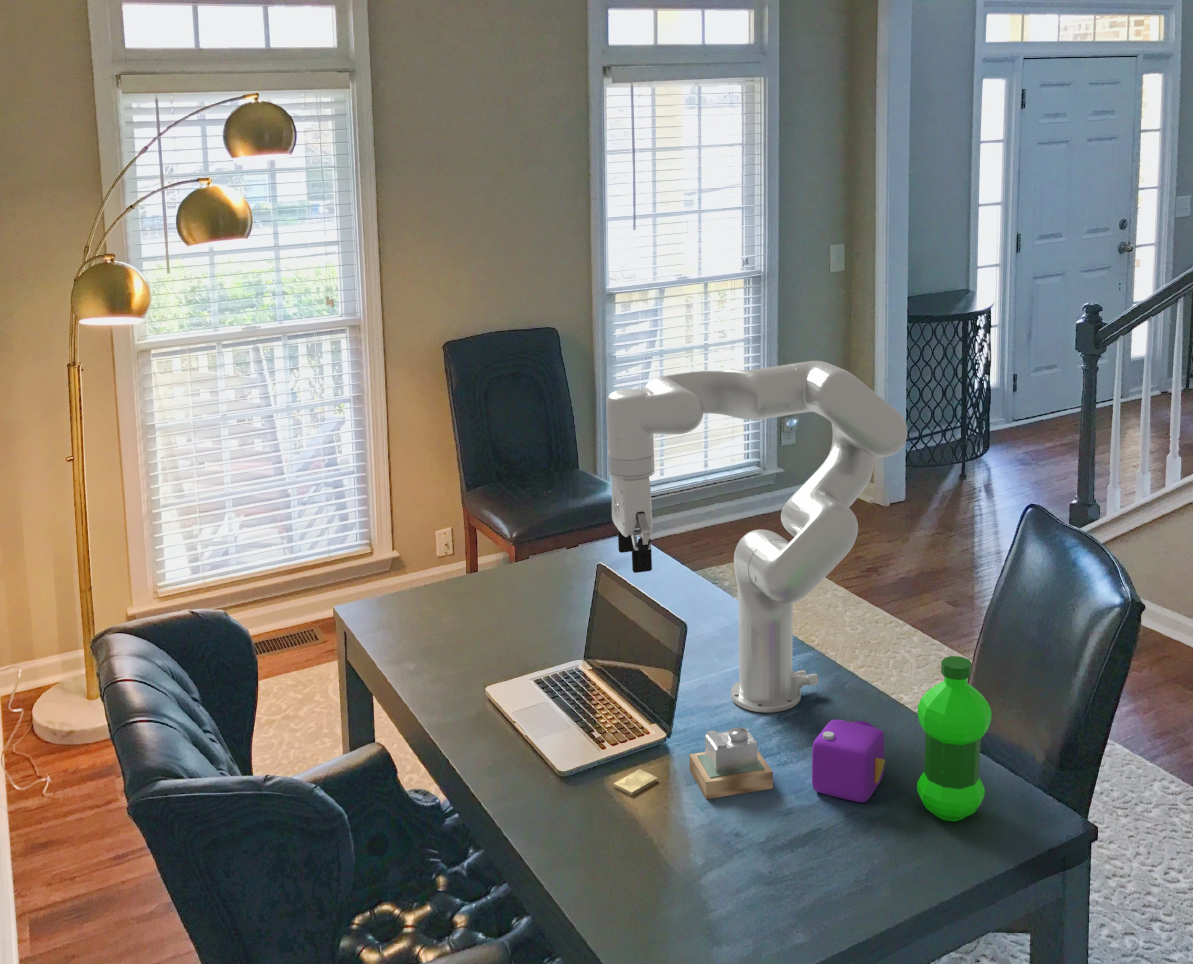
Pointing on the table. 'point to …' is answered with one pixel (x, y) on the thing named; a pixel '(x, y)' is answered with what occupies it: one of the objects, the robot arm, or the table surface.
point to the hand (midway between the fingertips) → (634, 561)
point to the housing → (731, 749)
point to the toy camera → (848, 760)
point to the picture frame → (730, 777)
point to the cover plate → (635, 782)
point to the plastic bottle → (953, 742)
